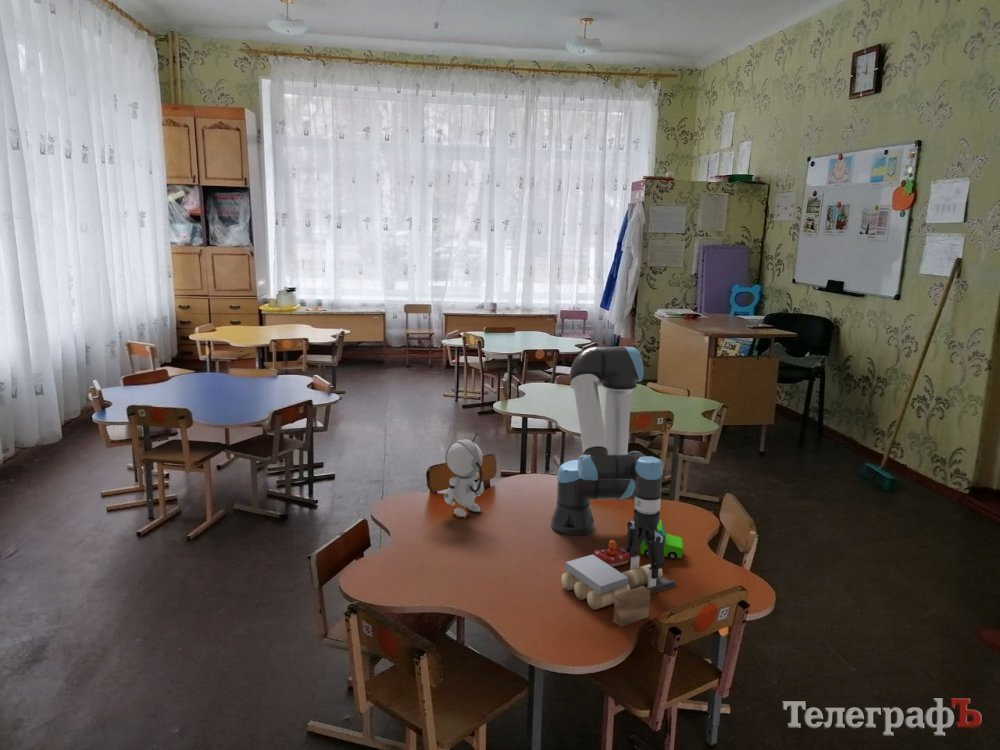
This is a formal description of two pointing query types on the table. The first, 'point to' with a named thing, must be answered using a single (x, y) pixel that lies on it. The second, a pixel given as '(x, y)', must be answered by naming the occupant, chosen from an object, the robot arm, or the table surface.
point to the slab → (596, 574)
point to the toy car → (667, 544)
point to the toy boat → (613, 555)
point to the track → (618, 598)
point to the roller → (640, 576)
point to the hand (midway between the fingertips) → (642, 581)
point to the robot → (464, 475)
